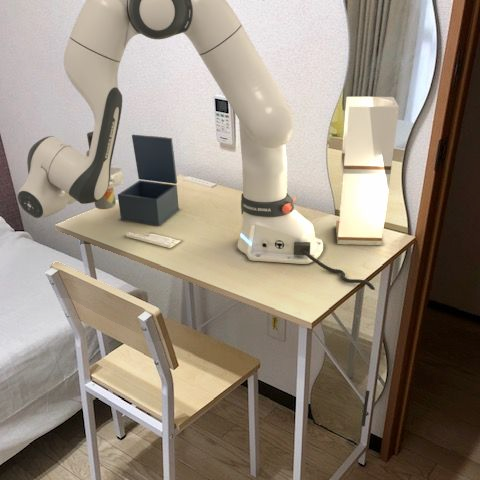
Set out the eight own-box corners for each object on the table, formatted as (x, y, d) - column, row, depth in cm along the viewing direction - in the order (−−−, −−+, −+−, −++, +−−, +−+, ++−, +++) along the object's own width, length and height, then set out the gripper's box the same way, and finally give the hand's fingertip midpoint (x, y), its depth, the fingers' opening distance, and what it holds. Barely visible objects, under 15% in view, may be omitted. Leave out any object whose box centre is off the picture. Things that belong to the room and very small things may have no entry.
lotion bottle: (120, 204, 161) (110, 130, 150) (106, 211, 157) (94, 136, 146) (105, 200, 163) (94, 128, 153) (90, 207, 159) (78, 133, 149)
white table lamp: (377, 228, 162) (393, 96, 143) (381, 245, 153) (399, 107, 134) (335, 227, 163) (346, 96, 144) (337, 243, 154) (349, 107, 135)
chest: (159, 225, 166) (156, 199, 162) (121, 220, 170) (117, 194, 166) (178, 209, 176) (176, 184, 171) (142, 204, 180) (139, 180, 175)
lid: (170, 139, 163) (178, 133, 166) (131, 135, 167) (140, 129, 170) (176, 183, 171) (183, 177, 174) (138, 179, 175) (146, 172, 178)
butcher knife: (138, 230, 163) (137, 226, 163) (181, 241, 157) (180, 237, 156) (126, 236, 160) (125, 232, 159) (169, 248, 153) (169, 244, 152)
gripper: (104, 174, 139) (133, 157, 150) (34, 166, 146) (67, 150, 156) (108, 199, 142) (136, 180, 153) (39, 190, 149) (71, 173, 160)
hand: (101, 165), depth 155 cm, fingers closed on lotion bottle, 5 cm apart
